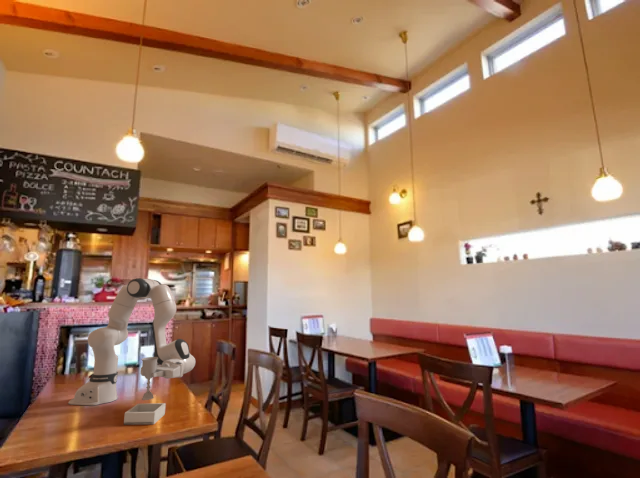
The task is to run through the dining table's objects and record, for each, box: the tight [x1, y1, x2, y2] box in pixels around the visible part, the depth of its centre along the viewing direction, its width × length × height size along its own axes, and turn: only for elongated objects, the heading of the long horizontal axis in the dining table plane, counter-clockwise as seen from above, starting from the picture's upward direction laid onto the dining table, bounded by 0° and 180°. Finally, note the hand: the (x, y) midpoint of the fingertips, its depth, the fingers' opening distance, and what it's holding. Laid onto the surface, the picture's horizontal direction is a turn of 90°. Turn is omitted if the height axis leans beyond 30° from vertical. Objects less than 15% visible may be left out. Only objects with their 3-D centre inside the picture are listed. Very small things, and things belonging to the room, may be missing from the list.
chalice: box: [140, 356, 158, 401], centre depth 163 cm, size 7×7×18 cm
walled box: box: [123, 402, 167, 426], centre depth 160 cm, size 13×13×5 cm
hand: (147, 374), depth 162 cm, fingers closed on chalice, 5 cm apart
